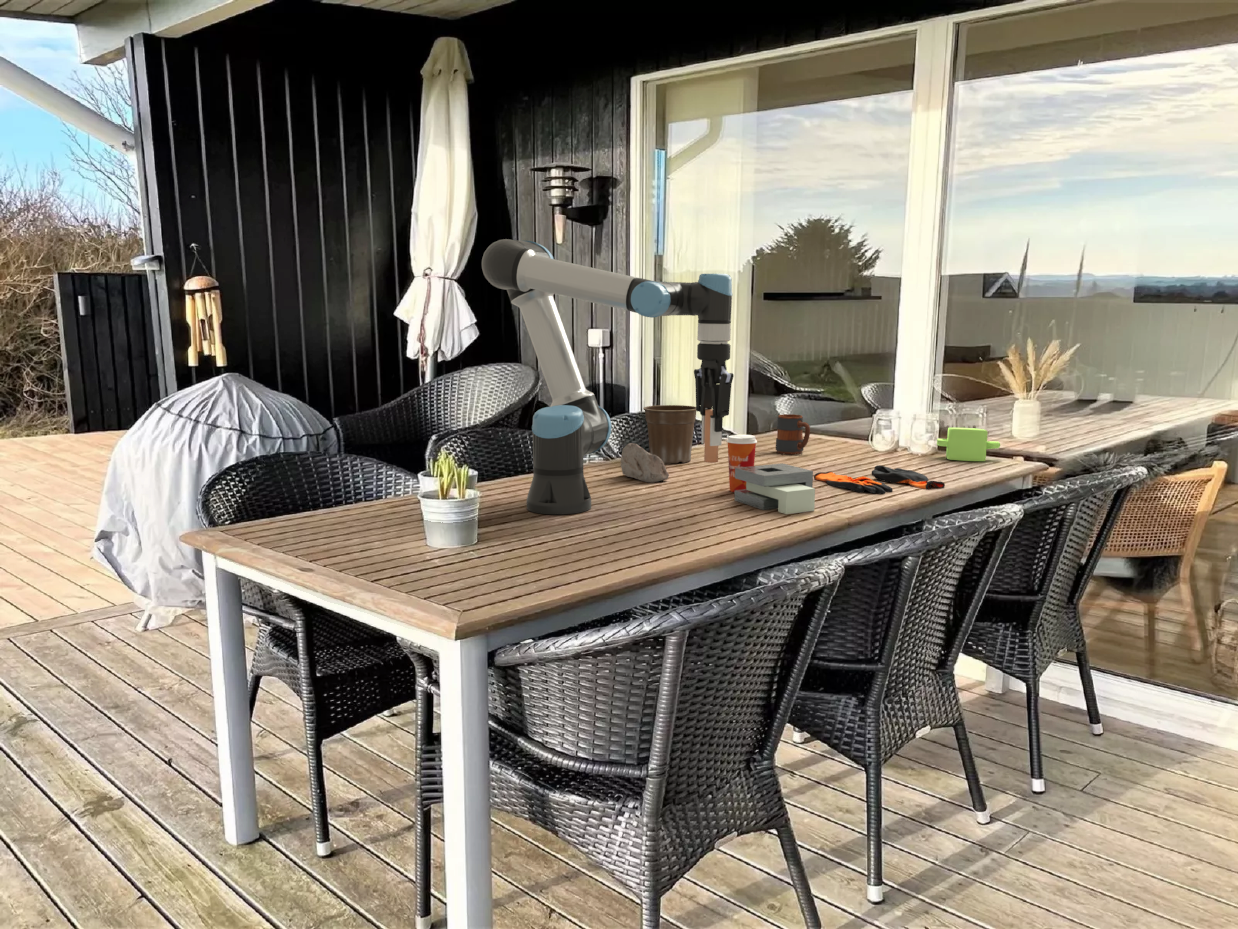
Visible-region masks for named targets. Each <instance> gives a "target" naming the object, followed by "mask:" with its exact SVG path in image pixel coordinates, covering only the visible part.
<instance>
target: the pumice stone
mask: <svg viewBox="0 0 1238 929" xmlns="http://www.w3.org/2000/svg"><path fill="white" fill-rule="evenodd" d="M619 465H620V467H621V468H620V469H621V472H622V475H623V476H625V477H628V478H634V479H636V480H639V481H641V482H645V483H657V482H661V481H665V480H666V481H667V480H668V479H669V477H670V474H669V472H668V471H667V468H666V465H665V464H664V463H663V461H662V460H661V459H660V458H659V457H658V456H656V455H652V454H651V453H650V452H648V451H647V450H645V449H644V448H643V447H642V446H640V445H638V444H637V443H633V442H629V443H627V444H626V445H625V446H624V447H623V448H622V453H621V457H620V464H619Z"/></svg>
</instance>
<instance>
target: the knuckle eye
mask: <svg viewBox="0 0 1238 929" xmlns="http://www.w3.org/2000/svg"><path fill="white" fill-rule="evenodd" d="M746 490H748V491H752V492H755V493H758V494H761V495H765V496H768V497H771V498H774V499H778V508H777V511H778V512H777V513H780V514H781V513H782V514H784V515H789V514H798V513H805V512H806V513H807V512H814V511H815V502H816V501H815V498H816V488H814V487H812V488H811V487H808V486H804V485H800V484H797V483H793V484H784V485H775V486H766V487H763V486H760V485H756V484H753V483H749V482H746Z"/></svg>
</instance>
